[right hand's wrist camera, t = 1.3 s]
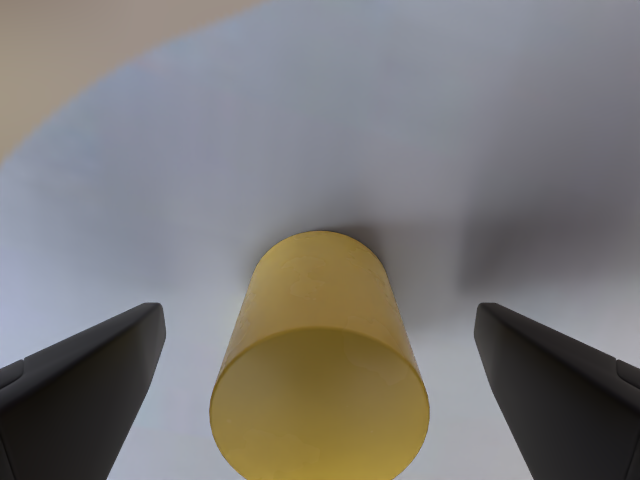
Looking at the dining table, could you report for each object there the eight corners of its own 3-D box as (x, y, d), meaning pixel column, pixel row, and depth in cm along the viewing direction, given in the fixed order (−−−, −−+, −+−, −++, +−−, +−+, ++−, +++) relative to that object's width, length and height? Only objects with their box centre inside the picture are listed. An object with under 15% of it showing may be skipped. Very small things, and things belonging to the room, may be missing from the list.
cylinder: (316, 200, 11) (315, 282, 7) (418, 294, 12) (476, 420, 8) (220, 298, 12) (163, 425, 8) (321, 377, 13) (322, 532, 9)
